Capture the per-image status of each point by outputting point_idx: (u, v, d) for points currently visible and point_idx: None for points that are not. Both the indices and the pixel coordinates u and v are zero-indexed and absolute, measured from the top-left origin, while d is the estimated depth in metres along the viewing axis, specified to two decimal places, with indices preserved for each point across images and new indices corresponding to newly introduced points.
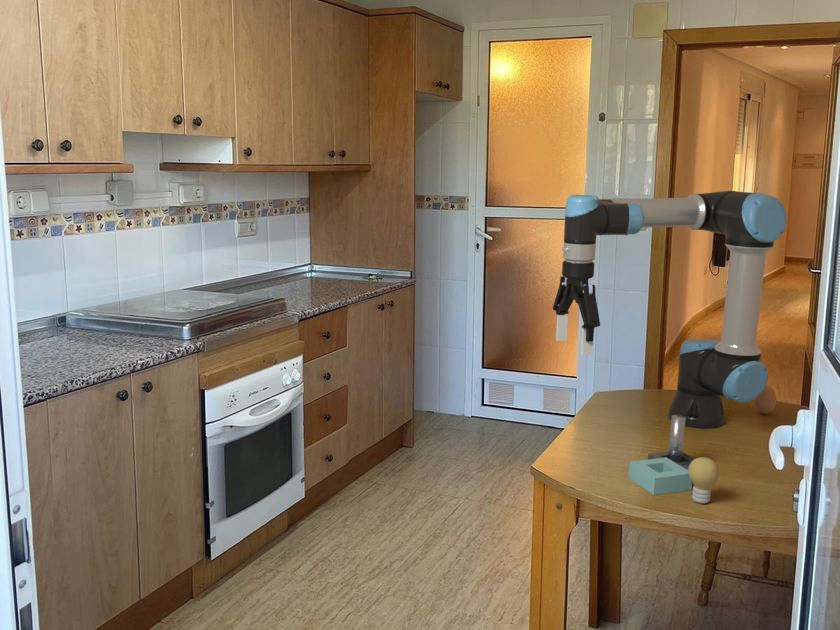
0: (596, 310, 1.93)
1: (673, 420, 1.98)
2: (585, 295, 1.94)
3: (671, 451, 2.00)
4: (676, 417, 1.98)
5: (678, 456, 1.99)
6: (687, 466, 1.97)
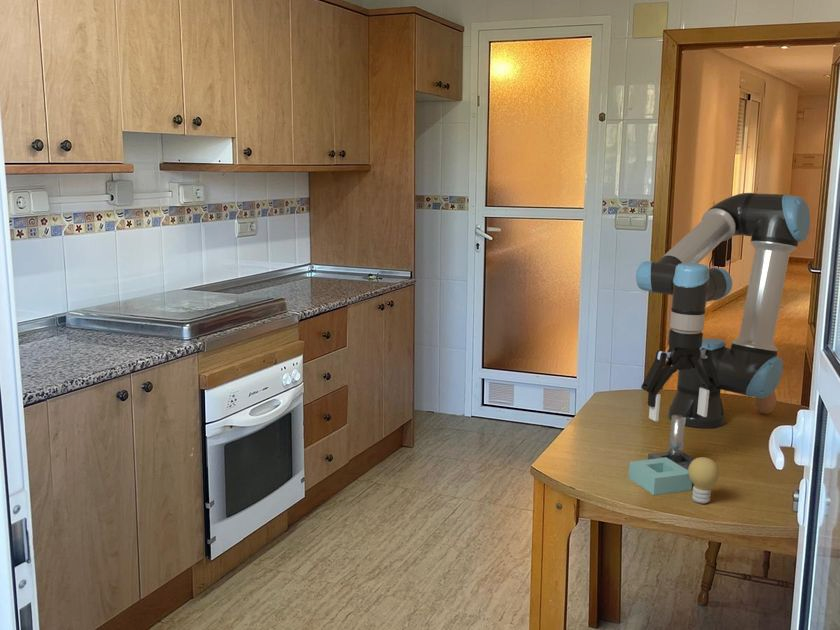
0: (652, 376, 1.93)
1: (673, 420, 1.98)
2: None
3: (671, 451, 2.00)
4: (676, 417, 1.98)
5: (678, 456, 1.99)
6: (687, 466, 1.97)
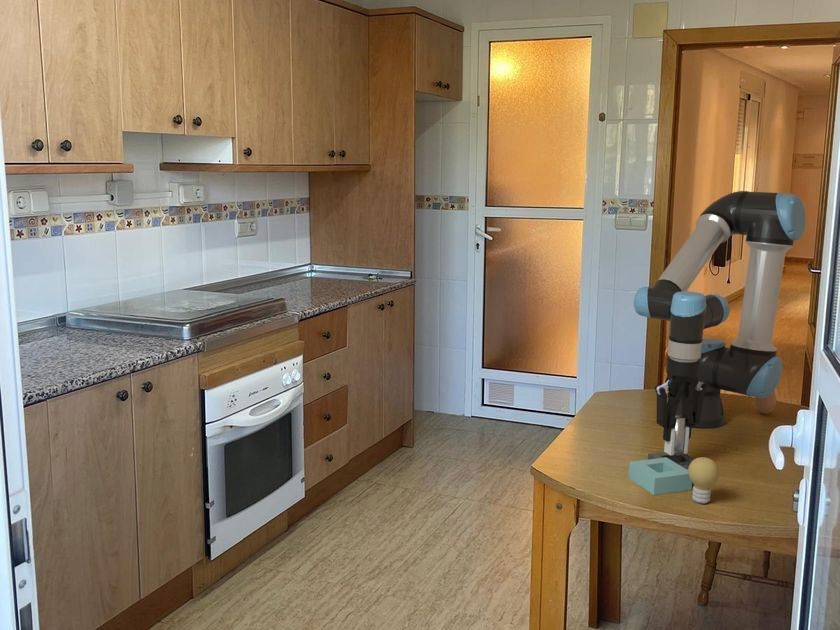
0: (661, 412, 1.96)
1: None
2: None
3: None
4: (676, 417, 1.98)
5: (678, 456, 1.99)
6: (687, 466, 1.97)
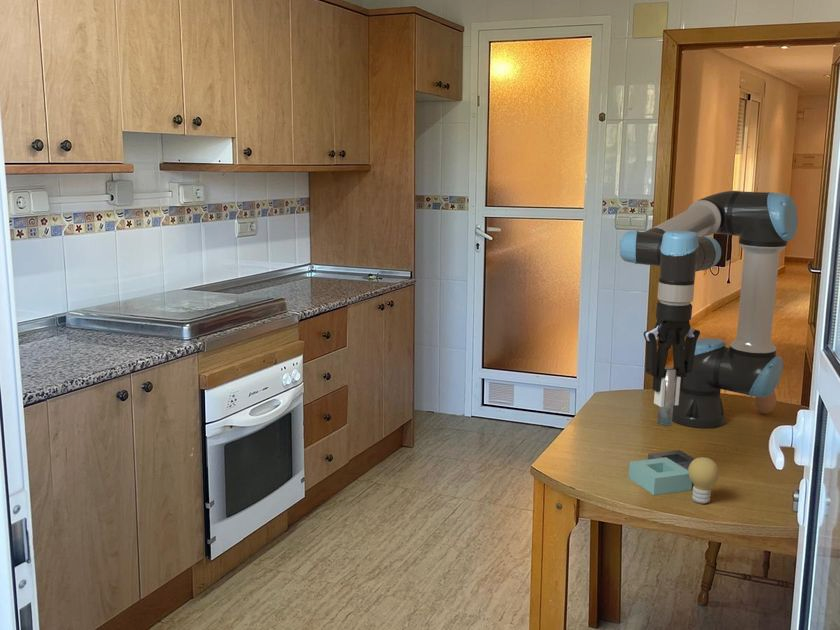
0: (651, 360, 1.84)
1: None
2: None
3: None
4: (666, 369, 1.86)
5: (669, 410, 1.87)
6: (687, 466, 1.97)
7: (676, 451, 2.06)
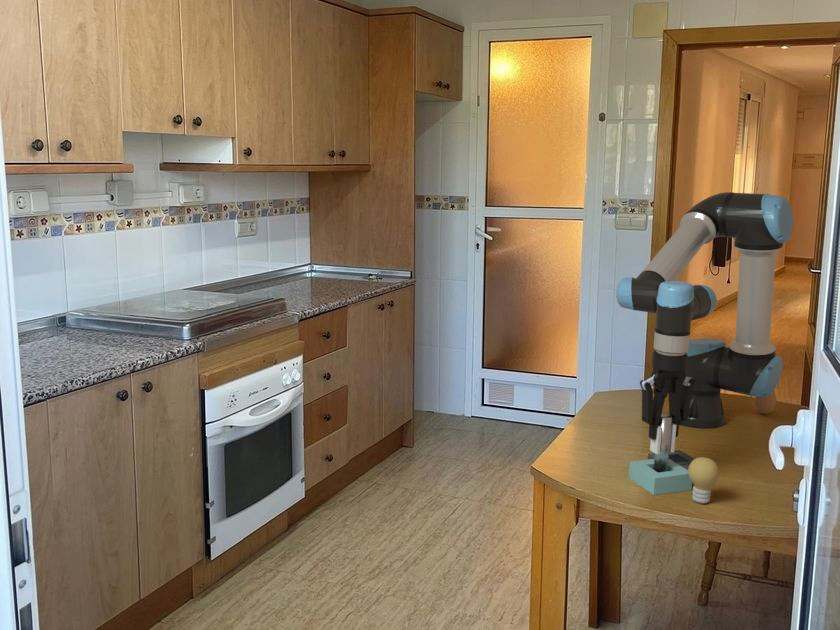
0: (647, 408, 1.86)
1: None
2: None
3: None
4: (662, 417, 1.88)
5: (665, 458, 1.89)
6: (687, 466, 1.97)
7: (676, 451, 2.06)
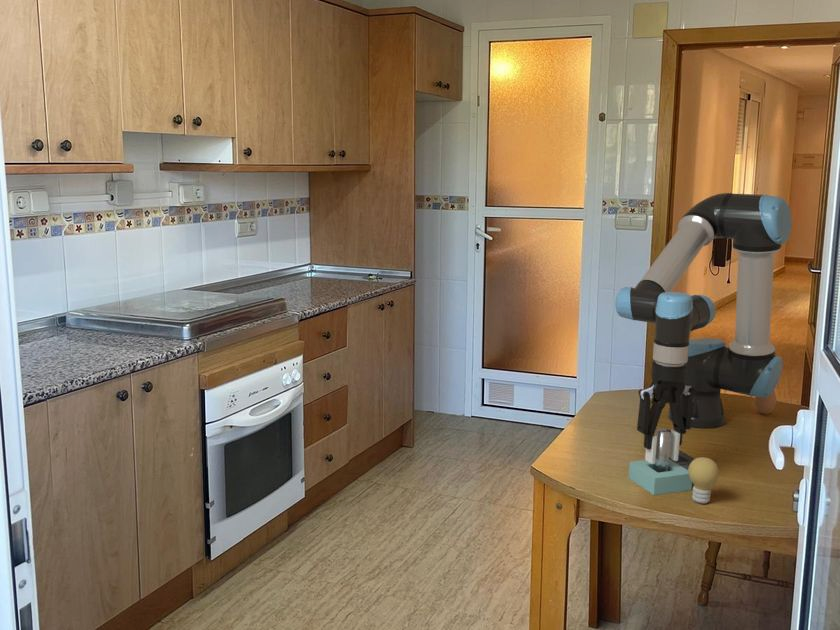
0: (643, 418, 1.86)
1: (658, 434, 1.89)
2: None
3: (656, 466, 1.91)
4: (661, 431, 1.89)
5: (664, 471, 1.90)
6: (687, 466, 1.97)
7: None
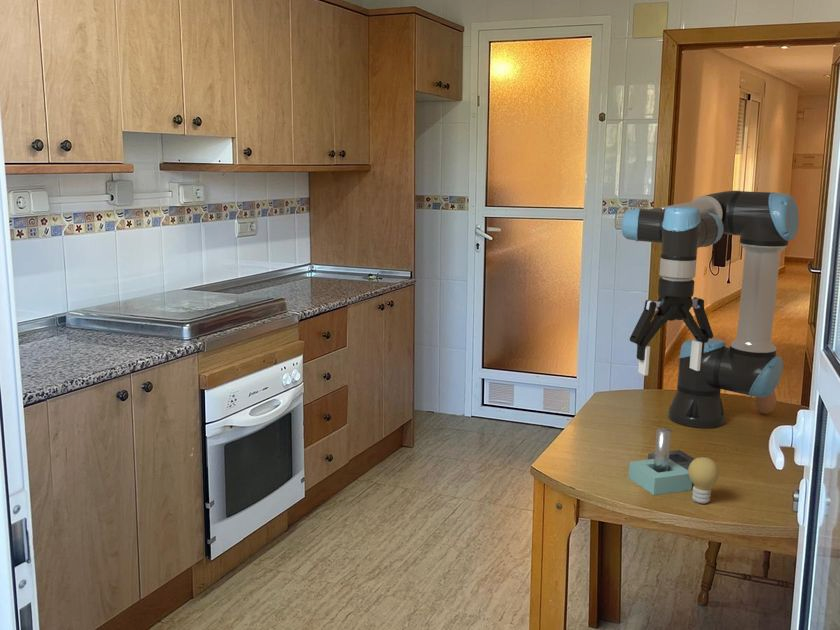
0: (641, 327, 1.81)
1: (658, 433, 1.89)
2: None
3: (656, 466, 1.91)
4: (661, 431, 1.89)
5: (664, 471, 1.90)
6: (687, 466, 1.97)
7: (676, 451, 2.06)
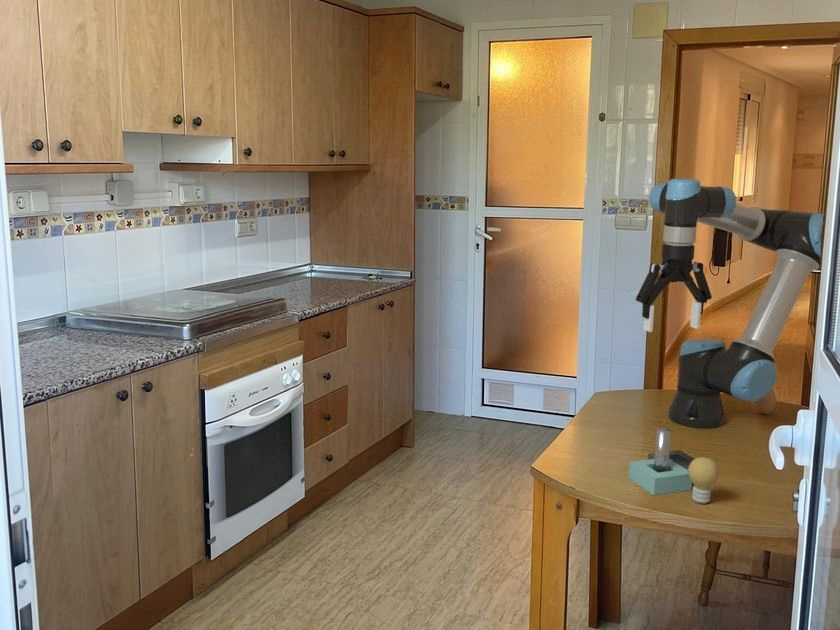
0: (646, 287, 2.01)
1: (658, 433, 1.89)
2: None
3: (656, 466, 1.91)
4: (661, 431, 1.89)
5: (664, 471, 1.90)
6: (687, 466, 1.97)
7: (676, 451, 2.06)
